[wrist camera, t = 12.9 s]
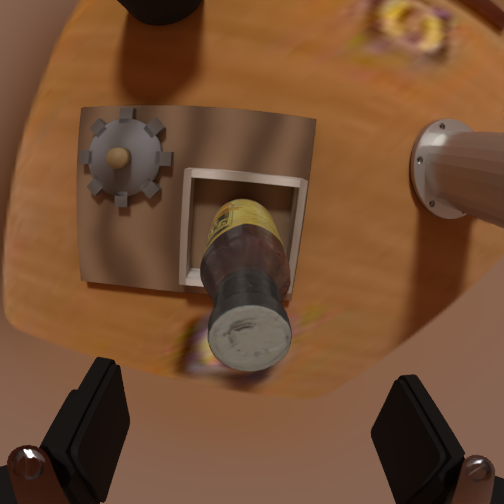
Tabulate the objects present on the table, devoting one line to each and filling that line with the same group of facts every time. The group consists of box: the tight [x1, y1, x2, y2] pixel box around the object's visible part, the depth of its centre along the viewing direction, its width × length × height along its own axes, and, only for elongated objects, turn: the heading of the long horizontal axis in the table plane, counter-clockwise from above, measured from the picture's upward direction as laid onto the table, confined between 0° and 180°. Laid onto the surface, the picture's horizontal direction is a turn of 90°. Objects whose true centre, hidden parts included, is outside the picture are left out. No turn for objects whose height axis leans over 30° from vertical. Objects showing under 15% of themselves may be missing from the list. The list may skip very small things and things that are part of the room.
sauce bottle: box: [200, 198, 292, 372], centre depth 24 cm, size 7×6×20 cm
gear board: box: [77, 105, 316, 301], centre depth 31 cm, size 25×20×5 cm
